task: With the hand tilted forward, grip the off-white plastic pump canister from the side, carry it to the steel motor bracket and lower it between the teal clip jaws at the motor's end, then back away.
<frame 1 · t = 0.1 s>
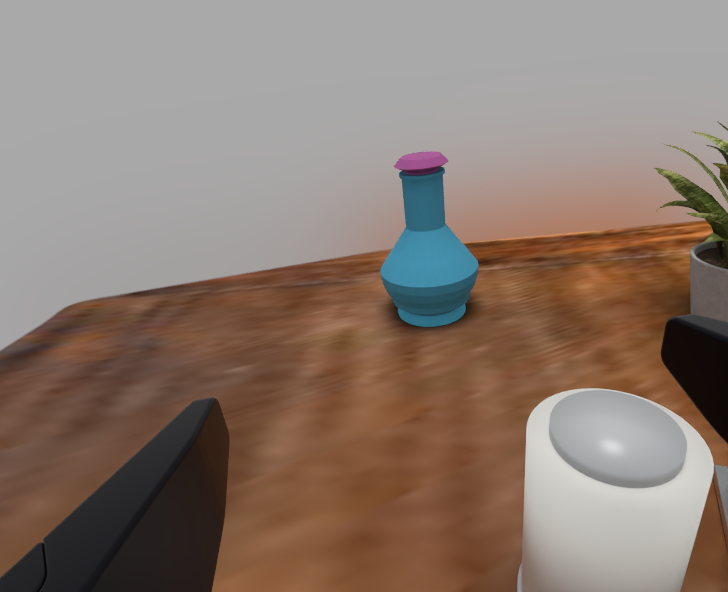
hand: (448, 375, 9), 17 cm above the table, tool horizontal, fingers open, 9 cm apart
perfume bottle: (431, 311, 46), on the table
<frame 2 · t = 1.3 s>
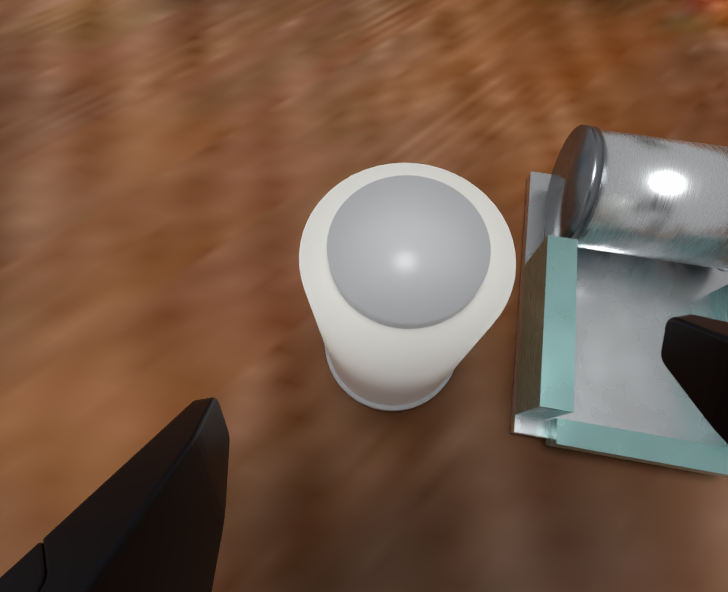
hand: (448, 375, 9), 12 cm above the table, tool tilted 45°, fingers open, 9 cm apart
pump: (390, 347, 21), on the table
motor: (623, 356, 21), on the table
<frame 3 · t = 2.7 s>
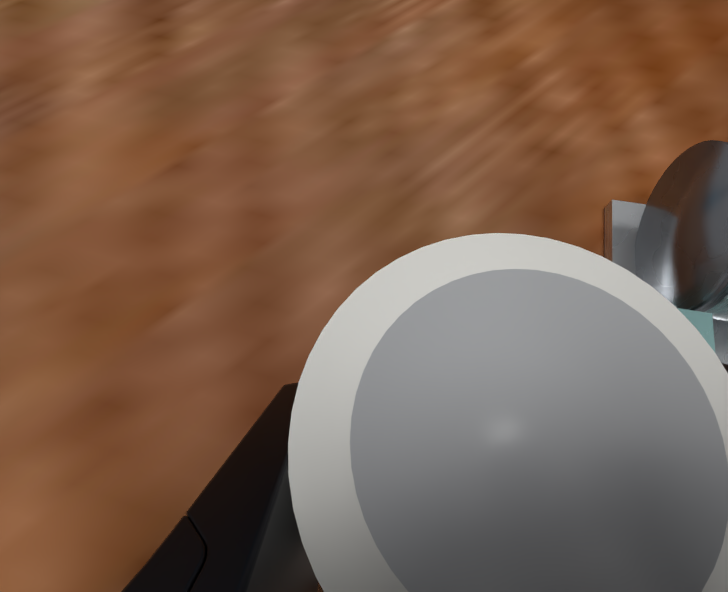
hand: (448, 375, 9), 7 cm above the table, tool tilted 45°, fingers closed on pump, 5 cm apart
pump: (424, 455, 15), on the table, touching gripper
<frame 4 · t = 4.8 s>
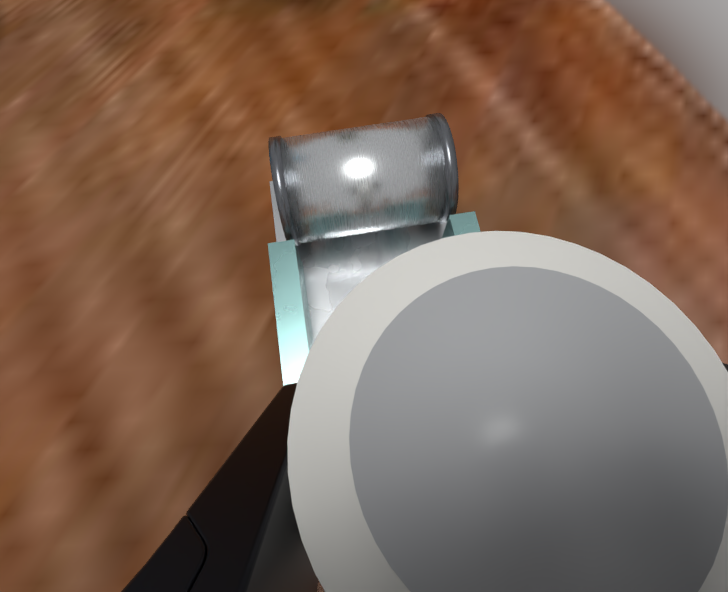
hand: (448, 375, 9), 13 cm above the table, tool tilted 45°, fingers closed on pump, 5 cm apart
pump: (424, 454, 15), point 7 cm above the table, touching gripper
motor: (383, 321, 23), on the table
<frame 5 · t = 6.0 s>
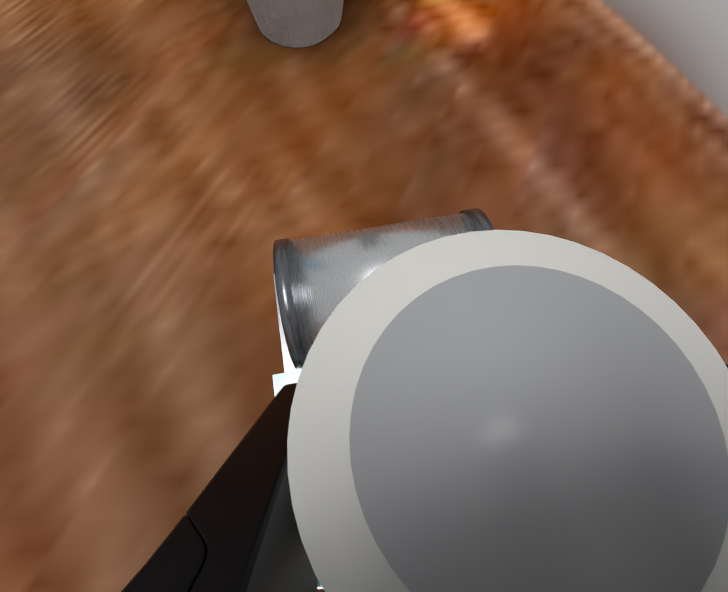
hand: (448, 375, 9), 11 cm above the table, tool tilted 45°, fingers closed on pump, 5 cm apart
pump: (424, 454, 15), point 5 cm above the table, touching gripper
house plant: (315, 5, 28), on the table
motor: (411, 452, 19), on the table
when the fingers open (8 cm above the table, at t = 6.9 s): pump drops 1 cm, resting on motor.
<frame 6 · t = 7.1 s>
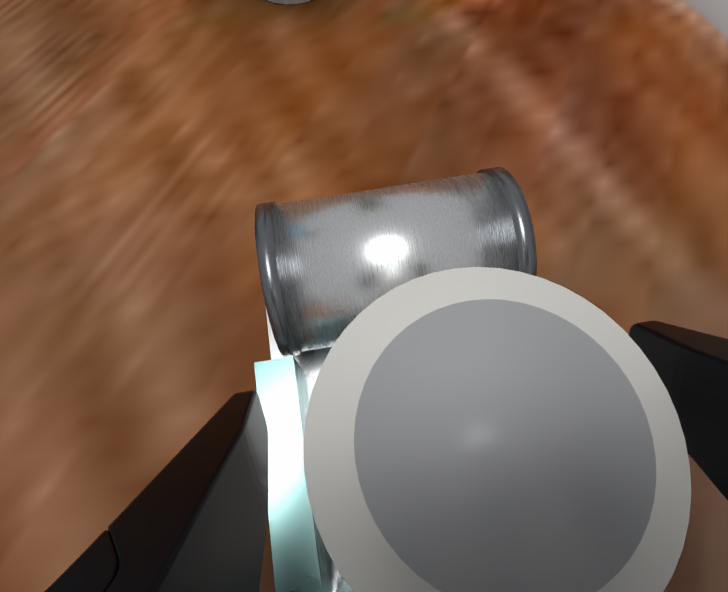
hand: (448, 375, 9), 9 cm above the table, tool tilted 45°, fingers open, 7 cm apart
pump: (421, 457, 16), point 1 cm above the table, touching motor
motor: (419, 454, 17), on the table
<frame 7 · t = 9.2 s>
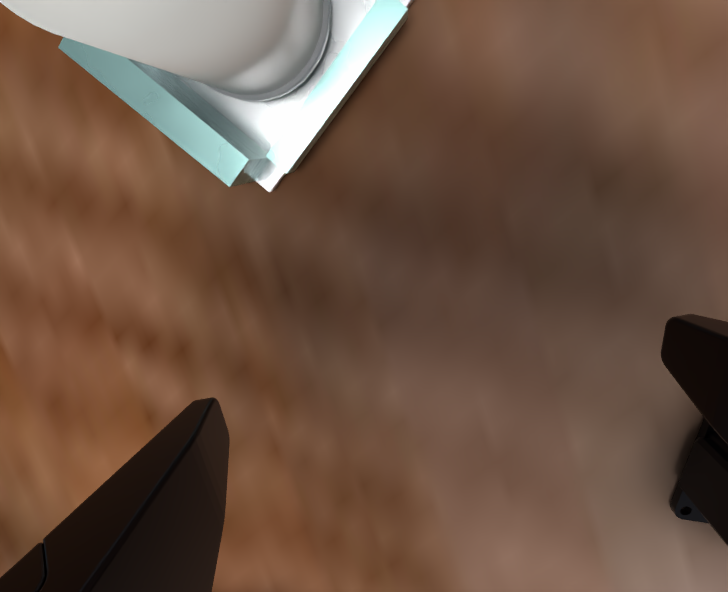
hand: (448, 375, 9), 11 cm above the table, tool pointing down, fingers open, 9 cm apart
pump: (255, 18, 17), point 1 cm above the table, touching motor
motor: (258, 21, 18), on the table
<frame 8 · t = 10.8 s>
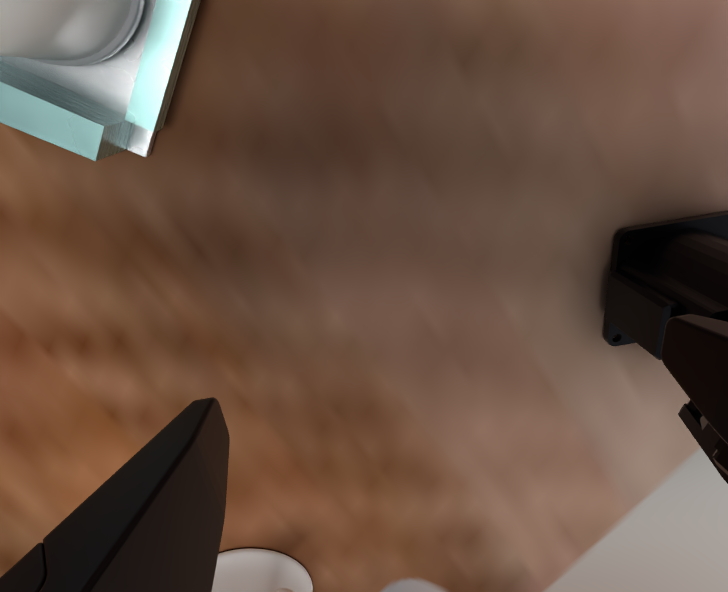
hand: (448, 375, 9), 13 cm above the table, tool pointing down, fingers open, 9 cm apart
mug: (261, 573, 30), on the table
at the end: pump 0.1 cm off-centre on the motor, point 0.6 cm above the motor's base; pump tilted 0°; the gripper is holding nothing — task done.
